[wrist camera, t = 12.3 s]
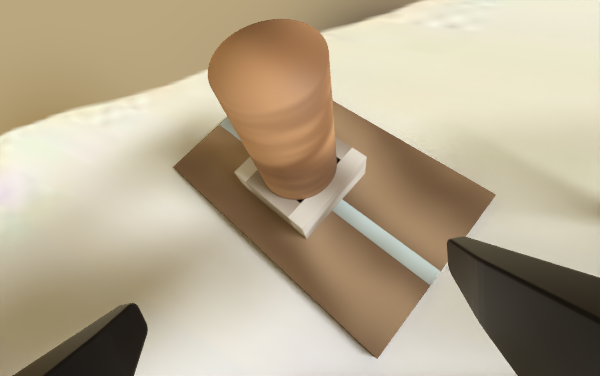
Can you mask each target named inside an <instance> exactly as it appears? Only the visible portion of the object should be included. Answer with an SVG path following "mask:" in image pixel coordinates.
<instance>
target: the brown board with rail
mask: <svg viewBox="0 0 600 376" xmlns="http://www.w3.org/2000/svg"><path fill="white" fill-rule="evenodd" d="M332 103H333V116H334V130H335V143H336V156H337V169H336V173H335V176H334V178H333V180H332V181H331V183H330V184H329V185H328V186H327V187H326V188H325V189H324V190H323V191H322V192H320V193H319V194H317V195H315V196H313V197H310V198H307V199H301V200H291V199H286V198H283V197H280V196H278V195H276V194H275V193H273V192H272V191H271V190H270V189H269V188H268V187H267V185H266V184H265V182H264V180H263V178H262V177H261V175H260V173H259V171H258V170H257V168H256V166H255V164H254V162H253V161H252V159H251V157H250V155H249V154H248V152H247V150H246V148H245V147H244V145H243V143H242V141H241V139H240V138H239V136H238V134H237V132H236V131H235V129H234V127H233V125H232V124H231V122H230V120H229V118H228V117H227V118H226V119H225V120H224V121H223V122H222V123H221V124H219V126H218V127H217V128H216V129H214V130H213V131H212V132H211V133H210V134H209V135H208V136H207V137H206V138H205V139H203V140H202V141H201V142H200V143H199V144H198V145H197V146H196V147H195V148H194V149H192V150H191V151H190V152H189V153H188V154H187V155H186V156H185V157H184V158H183V159H181V160H180V161H179V162H178V163H177V164H176V165H175V166H174V168H175V169H176V170H177V171H178V172H179V173H180V174H181V175H182V176H183V177H184V178H185V179H187V180H188V181H189V182H190V183H191V184H192V185H193V186H194V187H195V188H196V189H197V190H198V191H199V192H200V193H201V194H202V195H204V196H205V197H206V198H207V199H208V200H209V201H210V202H211V203H212V204H213V205H214V206H215V207H216V208H217V209H218V210H219V211H221V212H222V213H223V214H224V215H225V216H226V217H227V218H228V219H229V220H230V221H231V222H232V223H233V224H234V225H235V226H236V227H238V228H239V229H240V230H241V231H242V232H243V233H244V234H245V235H246V236H247V237H248V238H249V239H250V240H251V241H252V242H253V243H255V244H256V245H257V246H258V247H259V248H260V249H261V250H262V251H263V252H264V253H265V254H266V255H267V256H268V257H269V258H270V259H272V260H273V261H274V262H275V263H276V264H277V265H278V266H279V267H280V268H281V269H282V270H283V271H284V272H285V273H286V274H287V275H289V276H290V277H291V278H292V279H293V280H294V281H295V282H296V283H297V284H298V285H299V286H300V287H301V288H302V289H303V290H304V291H306V292H307V293H308V294H309V295H310V296H311V297H312V298H313V299H314V300H315V301H316V302H317V303H318V304H319V305H320V306H322V307H323V308H324V309H325V310H326V311H327V312H328V313H329V314H330V315H331V316H332V317H333V318H334V319H335V320H336V321H337V322H339V323H340V324H341V325H342V326H343V327H344V328H345V329H346V330H347V331H348V332H349V333H350V334H351V335H352V336H353V337H354V338H356V339H357V340H358V341H359V342H360V343H361V344H362V345H363V346H364V347H365V348H366V349H367V350H368V351H369V352H370V353H371V354H373V355H374V356H375V357H376V358H377V359H378V357H379V356H380V354H381V353H382V352H383V350H384V349H385V347H386V346H387V345H388V343H389V342H390V341H391V339H392V338H393V336H394V335H395V334H396V332H397V331H398V329H399V328H400V327H401V325H402V324H403V323H404V321H405V320H406V318H407V317H408V316H409V314H410V313H411V311H412V310H413V309H414V307H415V306H416V305H417V303H418V302H419V300H420V299H421V298H422V296H423V295H424V293H425V292H426V291H427V289H428V288H429V287H430V285H431V284H432V282H433V281H434V280H435V278H436V277H437V276H438V274H439V273H440V271H441V270H442V269H443V267H444V266H445V264H446V263H447V262H448V255H447V241H448V239H450V238H455V237H460V236H464V237H466V235H467V234H468V233H469V231H470V230H471V228H472V227H473V226H474V224H475V223H476V221H477V220H478V219H479V217H480V216H481V215H482V213H483V212H484V210H485V209H486V208H487V206H488V205H489V203H490V202H491V201H492V199H493V198H494V197H495V194H494V193H492V192H490V191H488V190H487V189H485V188H483V187H481V186H480V185H478V184H476V183H475V182H473V181H471V180H469V179H468V178H466V177H464V176H462V175H461V174H459V173H457V172H455V171H454V170H452V169H450V168H448V167H447V166H445V165H443V164H442V163H440V162H438V161H436V160H435V159H433V158H431V157H429V156H428V155H426V154H424V153H422V152H421V151H419V150H417V149H416V148H414V147H412V146H410V145H409V144H407V143H405V142H403V141H402V140H400V139H398V138H396V137H395V136H393V135H391V134H390V133H388V132H386V131H384V130H383V129H381V128H379V127H377V126H376V125H374V124H372V123H370V122H369V121H367V120H365V119H363V118H362V117H360V116H358V115H357V114H355V113H353V112H351V111H350V110H348V109H346V108H344V107H343V106H341V105H339V104H337V103H336V102H334V101H332Z"/></svg>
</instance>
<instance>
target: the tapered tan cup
mask: <svg viewBox="0 0 600 376" xmlns="http://www.w3.org/2000/svg"><path fill="white" fill-rule="evenodd" d="M208 80H209V84H210V86H211V88H212V90H213V92H214V93H215V95H216V97H217V99H218V101H219V102H220V104H221V106H222V108H223V109H224V111H225V113H226V115H227V116H228V118H229V120H230V122H231V124H232V125H233V127H234V129H235V131H236V132H237V134H238V136H239V138H240V139H241V141H242V143H243V145H244V147H245V148H246V150H247V152H248V154H249V155H250V157H251V159H252V161H253V162H254V164H255V166H256V168H257V170H258V171H259V173H260V175H261V177H262V178H263V180H264V182H265V184H266V185H267V187H268V188H269V189H270V190H271V191H272V192H273V193H275V194H276V195H278V196H280V197H283V198H286V199H291V200H301V199H307V198H310V197H313V196H315V195H317V194H319V193H320V192H322V191H323V190H324V189H325V188H326V187H327V186H328V185H329V184H330V183H331V181H332V180H333V178H334V176H335V173H336V169H337V156H336V143H335V130H334V116H333V103H332V89H331V76H330V62H329V50H328V46H327V43H326V41H325V39H324V38H323V36H322V35H321V34H320V33H319V32H318V31H317V30H316V29H315V28H313V27H311V26H309V25H308V24H305V23H303V22H299V21H296V20H289V19H273V20H266V21H261V22H258V23H254V24H252V25H249V26H247V27H244V28H242V29H240V30H239V31H237V32H235V33H234V34H232V35H231V36H230V37H228V38H227V39H226V40H225V41H224V42H223V43H222V44H221V45H220V46H219V47H218V49H217V50H216V51H215V53H214V54H213V56H212V58H211V61H210V63H209V68H208Z"/></svg>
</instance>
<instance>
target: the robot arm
mask: <svg viewBox="0 0 600 376" xmlns="http://www.w3.org/2000/svg"><path fill="white" fill-rule="evenodd" d="M447 255H448V266H449V270H450V272H451V274H452V276H453V278H454V280H455V281H456V283H457V285H458V287H459V288H460V290H461V292H462V294H463V295H464V297H465V299H466V301H467V302H468V304H469V306H470V307H471V309H472V311H473V313H474V314H475V316H476V318H477V319H478V321H479V323H480V324H481V326H482V327H483V328H484V330H485V331H486V333H487V334H488V336H489V337H490V338H491V340H492V341H493V342H494V344H495V345H496V347H497V348H498V349H499V351H500V352H501V353H502V355H503V356H504V358H505V359H506V360H507V362H508V363H509V364H510V366H511V367H512V369H513V370H514V371H515V373H516V374H517V375H518V376H600V278H599V277H596V276H593V275H589V274H586V273H583V272H579V271H576V270H573V269H570V268H566V267H563V266H560V265H556V264H553V263H550V262H547V261H543V260H540V259H537V258H533V257H530V256H527V255H524V254H520V253H517V252H514V251H510V250H507V249H504V248H501V247H497V246H494V245H491V244H487V243H484V242H481V241H478V240H474V239H471V238H468V237H464V236H460V237H455V238H450V239H448V241H447ZM147 331H148V328H147V324H146V321H145V319H144V317H143V315H142V313H141V311H140V309H139V307H138V306H137V305H136V304H135V303H130V304H125V305H121V306H118V307H117V308H115V309H114V310H112V311H111V312H109V313H108V314H106V315H105V316H103V317H101V318H100V319H98V320H97V321H95V322H94V323H92V324H91V325H89V326H88V327H86V328H85V329H83V330H82V331H80V332H79V333H77V334H76V335H74V336H72V337H71V338H69V339H68V340H66V341H65V342H63V343H62V344H60V345H59V346H57V347H56V348H54V349H53V350H51V351H50V352H48V353H47V354H45V355H44V356H42V357H40V358H39V359H37V360H36V361H34V362H33V363H31V364H30V365H28V366H27V367H25V368H24V369H22V370H21V371H19V372H18V373H16V374H15V375H13V376H134V374H135V371H136V367H137V364H138V361H139V358H140V355H141V351H142V348H143V345H144V342H145V339H146V336H147Z"/></svg>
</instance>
